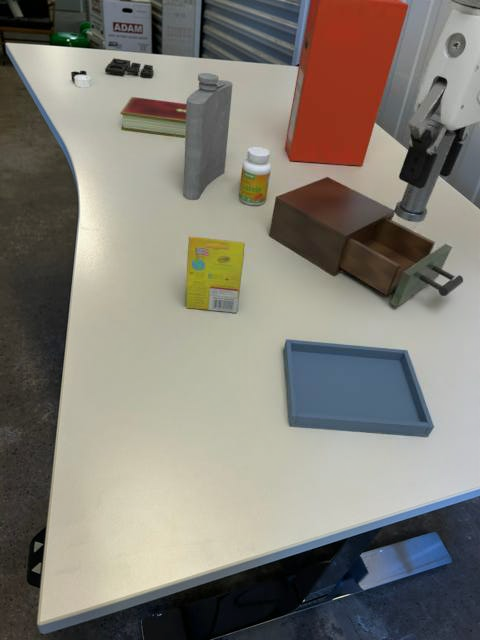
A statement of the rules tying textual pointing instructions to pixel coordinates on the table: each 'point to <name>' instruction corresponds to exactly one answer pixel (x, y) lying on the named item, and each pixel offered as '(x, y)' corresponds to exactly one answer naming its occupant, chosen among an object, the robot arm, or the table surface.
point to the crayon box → (214, 274)
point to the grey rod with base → (418, 197)
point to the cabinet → (323, 220)
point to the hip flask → (206, 133)
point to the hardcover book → (154, 117)
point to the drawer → (397, 261)
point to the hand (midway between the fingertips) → (424, 176)
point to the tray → (354, 389)
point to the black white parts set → (113, 71)
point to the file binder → (342, 78)
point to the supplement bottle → (255, 176)
